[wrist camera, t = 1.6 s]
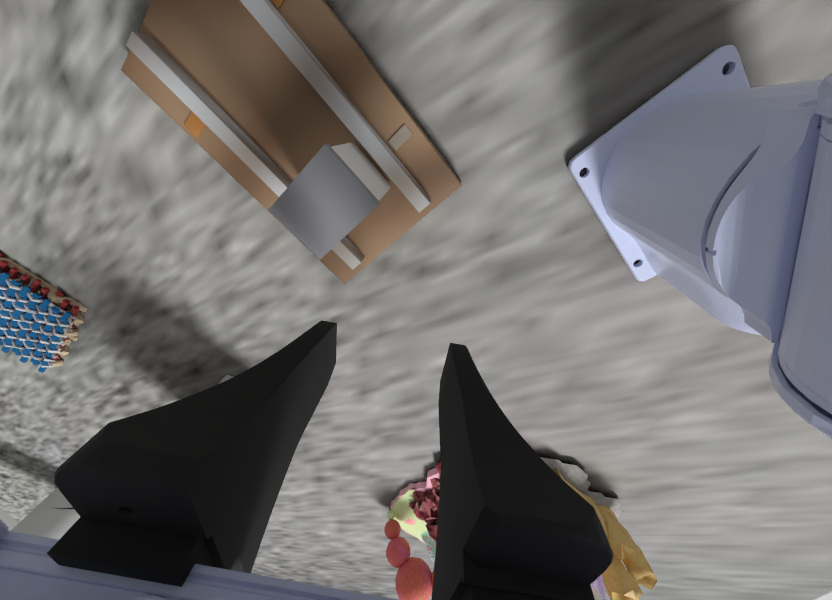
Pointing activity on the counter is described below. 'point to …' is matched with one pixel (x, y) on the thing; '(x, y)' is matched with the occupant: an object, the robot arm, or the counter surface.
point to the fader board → (287, 106)
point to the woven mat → (35, 317)
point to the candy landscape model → (420, 519)
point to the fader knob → (330, 197)
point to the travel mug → (49, 517)
